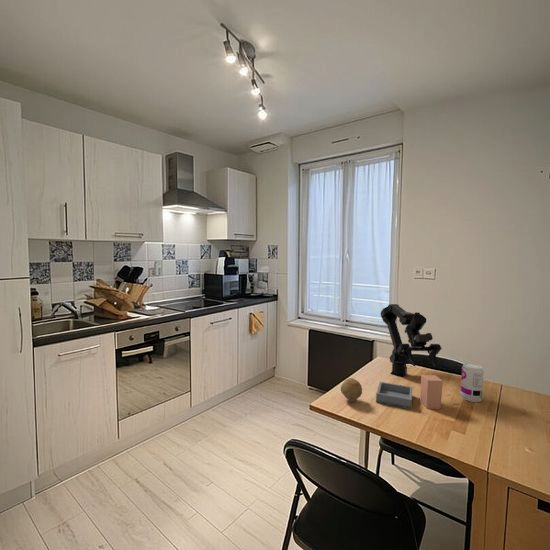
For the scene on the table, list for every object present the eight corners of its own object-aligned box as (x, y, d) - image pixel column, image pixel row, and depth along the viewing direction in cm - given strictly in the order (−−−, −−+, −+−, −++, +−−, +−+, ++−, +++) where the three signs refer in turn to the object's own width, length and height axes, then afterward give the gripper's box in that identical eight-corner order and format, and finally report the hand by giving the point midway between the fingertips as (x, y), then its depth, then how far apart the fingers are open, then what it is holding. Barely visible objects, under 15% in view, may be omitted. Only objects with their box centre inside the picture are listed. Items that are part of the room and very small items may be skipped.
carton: (420, 401, 139) (421, 374, 138) (433, 401, 139) (435, 375, 138) (426, 408, 133) (427, 380, 132) (440, 408, 133) (442, 380, 132)
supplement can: (460, 400, 141) (462, 367, 140) (459, 393, 148) (461, 361, 147) (482, 404, 137) (484, 370, 136) (480, 397, 144) (482, 364, 143)
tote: (376, 402, 138) (376, 393, 137) (379, 389, 150) (379, 381, 150) (411, 409, 132) (411, 399, 132) (411, 395, 145) (412, 387, 144)
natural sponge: (336, 401, 138) (337, 378, 138) (346, 394, 145) (347, 373, 144) (355, 408, 132) (356, 384, 132) (365, 400, 139) (366, 378, 138)
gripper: (400, 326, 147) (410, 357, 137) (440, 326, 148) (453, 357, 137) (393, 339, 156) (402, 369, 145) (430, 339, 156) (442, 369, 146)
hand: (424, 366), depth 143 cm, fingers open, 9 cm apart
